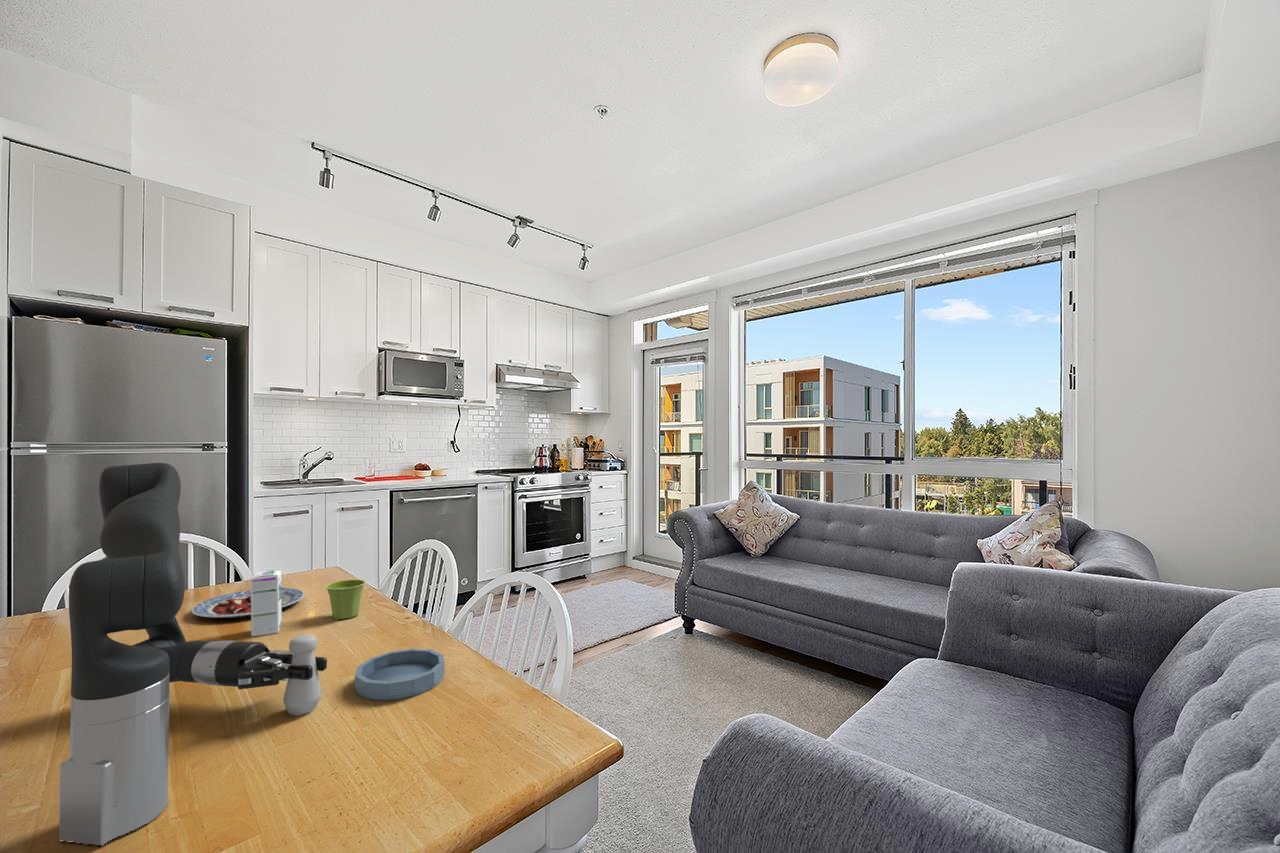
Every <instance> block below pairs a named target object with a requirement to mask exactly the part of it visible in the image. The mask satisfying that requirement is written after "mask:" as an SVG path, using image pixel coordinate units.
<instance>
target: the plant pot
mask: <svg viewBox="0 0 1280 853" xmlns="http://www.w3.org/2000/svg"><path fill="white" fill-rule="evenodd" d="M365 584H366V581H365V580H363V579H344V580H339V581H333V582H331V583H329V584H327V585H325V589H326V590H327V593H328V595H329V601H330V606H331V613H332V614H331V616H332V618H333V620H338V619H341V620H344V619H348V618H349V619H352V618H351V617H353V618H355V617H357V616H359V614H360V605H361V600H362V593H363V589H364V587H365ZM356 615H357V616H356ZM354 616H355V617H354Z"/></svg>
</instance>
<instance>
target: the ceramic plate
mask: <svg viewBox="0 0 1280 853" xmlns="http://www.w3.org/2000/svg"><path fill="white" fill-rule="evenodd" d="M281 596H282V608H286V607H288V606H290V605H293V604H295V603H298V601H301V600H302V599H303V598H305V592H304V591H303V590H300V589H298V588H291V587H290V588H289V587H281ZM191 613H192V615H195V616H197V617H204V618H219V619H220V618H221V619H236V618H237V619H238V618H239V617H240V618H247V616H248V617H251V589H248V590H241V591H236V592H232V593H226V594H223V595H219V596H215V597H212V598H208V599H206V600H204V601H201V602H199V603H197V604H196V605H194V606H193V607H192V608H191Z"/></svg>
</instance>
